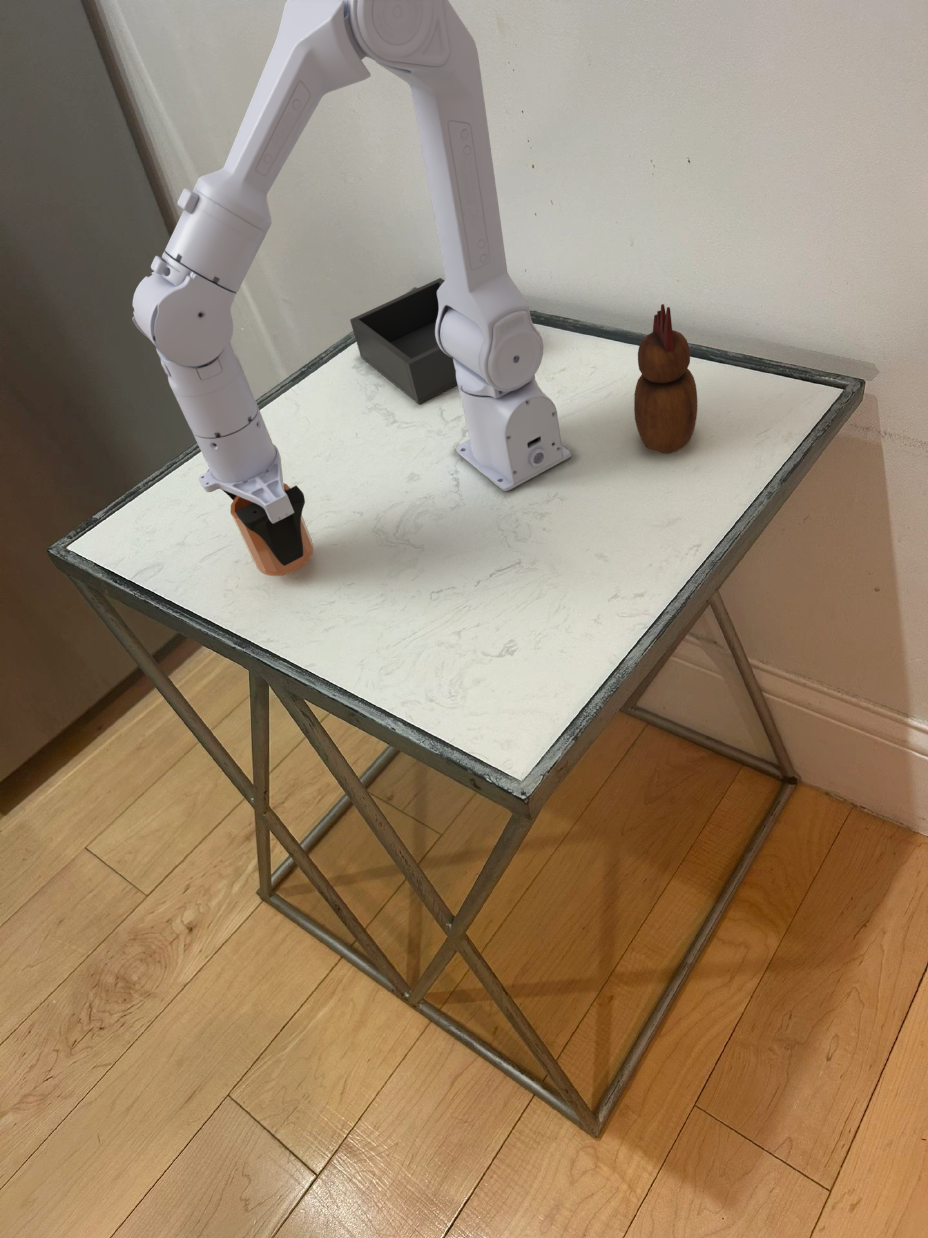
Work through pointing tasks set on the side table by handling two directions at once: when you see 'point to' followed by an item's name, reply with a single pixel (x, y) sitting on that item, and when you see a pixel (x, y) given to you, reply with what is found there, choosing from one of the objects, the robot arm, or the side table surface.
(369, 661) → the side table surface
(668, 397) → the wooden figurine
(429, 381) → the dark grey storage bin
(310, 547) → the pot
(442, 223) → the robot arm
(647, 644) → the side table surface
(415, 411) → the side table surface
